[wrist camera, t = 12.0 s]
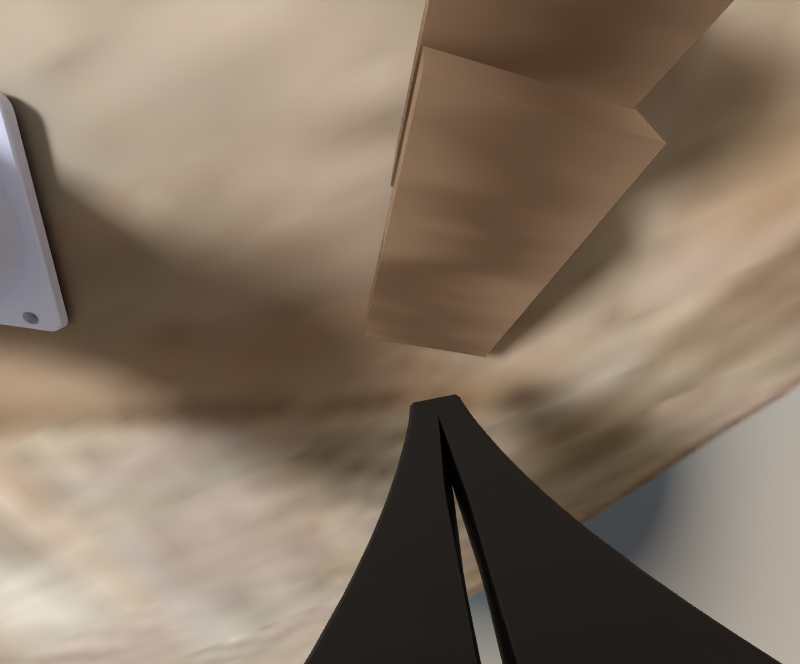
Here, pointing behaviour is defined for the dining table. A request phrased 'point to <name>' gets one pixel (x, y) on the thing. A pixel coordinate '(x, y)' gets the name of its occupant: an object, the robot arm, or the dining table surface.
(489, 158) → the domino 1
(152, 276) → the dining table surface
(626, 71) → the domino
